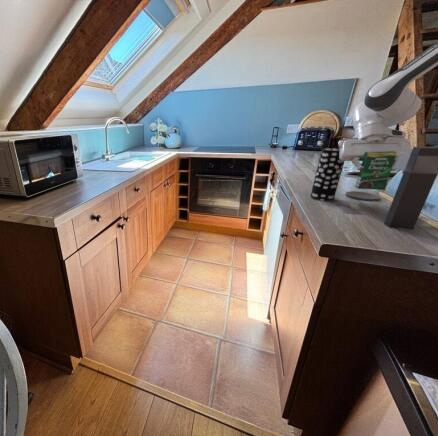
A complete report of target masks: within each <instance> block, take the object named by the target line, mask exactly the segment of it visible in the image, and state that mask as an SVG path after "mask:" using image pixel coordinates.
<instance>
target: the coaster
mask: <svg viewBox="0 0 438 436" xmlns="http://www.w3.org/2000/svg"><path fill="white" fill-rule="evenodd" d="M344 195H345V197H347V198H349V199H353V200H359V201H365V202H375V201H379V199H380V196H379V195H377V194H374V193H370V192H366V191H365V192H364V191H354V190H353V191H351V190H350V191H346V192H345V194H344Z"/></svg>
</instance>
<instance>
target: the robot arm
mask: <svg viewBox="0 0 438 436" xmlns="http://www.w3.org/2000/svg"><path fill="white" fill-rule="evenodd" d="M437 66H438V41H437V42H435V43H434V44H432V45H431V46H430V47H428V48H427V49H425V50H423V51H422V52H421V53H420V54H418V55H416V56H415V57H414V58H412V59H411V60H410V61H408V62H407V63H406V64H404V65H402V66H401V67H400V68H399V69H396V70H395V71H394V72H393V73H391V74H389V75H387V76H385V77H383V78H382V79H380V80H378V81H377V82H375V83H374V84H373V85H372V86H371V87H370V88H368V90H367V92H366V93H365V97H364V100H362V101H361V102H359V103H358V104H356V106H355V107H354V109H353V111H352V127H353V129H354V133H353V135H354V137H349V138H348V137H343V138H342V139H340V140H339V141H338V148H339V149H340V151H339V159H340V160H342V161H345V162H351V164H352V165H353V166H354V167H355V168H356V171H360V170H363V169H364V164H362V161H363V158H364V154H365V152H386V151H394V152H397V154H396V157H395V160H394V163H393V166H392V169H391V172H395V171H396V170H397V169H396V168H394V167H395V164H396V161H397V158H398V156H399V153H400V152H412V150H413V147H412V146H411V142H410V140H408V139H407V138H405V137H406V136H407V133H406V131H403V130H398V129H394V128H390V127H393V126H397V125H399V124H402V123H404V122H406V121H409V120H410V119H413V118H414V117H415V116H416V115H417V114H418V113H419V112H420V110H421V109H422V106H423V101H422V99H421V98H420V97H419V95H417V94H416V93H415V92H414V91H413V90H411V89H410V88H409V86H410V85H411V84H412V83H413V82H415V81H416V80H417V79H419V78H421V77H422V76H423V75H425V74H426V73H428V72H430V71H431V70H433V69H434V68H436V67H437Z"/></svg>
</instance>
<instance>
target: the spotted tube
mask: <svg viewBox="0 0 438 436" xmlns="http://www.w3.org/2000/svg"><path fill="white" fill-rule="evenodd" d="M339 151H340V148H336V147H335V148H334V147H332V148H329V147H325V148H321V151H320V155H319V159H318V163H317V168H316V172H315V175H314V179H313V184H312V188H311V192H310V195H309V196H310V198H311V199H313V200H317V201H323V202H332V201H334V200H335V197H336V193H337V189H338V186H339V182H340V179H341V176H342V172H343V169H344V164H345V162H346V161H342V160H340V159H339Z"/></svg>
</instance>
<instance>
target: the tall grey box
mask: <svg viewBox="0 0 438 436" xmlns="http://www.w3.org/2000/svg"><path fill="white" fill-rule="evenodd" d="M394 168H396V170H399V171H402V172H401V174H402V176H401V178H400V180H399V184H398V186H397V188H396V191H395V194H394V196H393V199H392V201H391V204H390V207H389V209H388V212H387V214H386V216H385V219H384V222H383V225H385V226H386V227H388V228H392V229H393V228H394V229H407V230H414V229H415V226H416V224H417V222H418V220H419V217H420V215H421V213H422V210H423V208H424V207H425V204H426V202H427V199H428V197H429V195H430V193H431V190H432V188H433V186H434V183H435V181H436V179H437V177H438V146H413V147H412V152H400V153H399V156H398V158H397V161H396V164H395V167H394Z"/></svg>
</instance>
